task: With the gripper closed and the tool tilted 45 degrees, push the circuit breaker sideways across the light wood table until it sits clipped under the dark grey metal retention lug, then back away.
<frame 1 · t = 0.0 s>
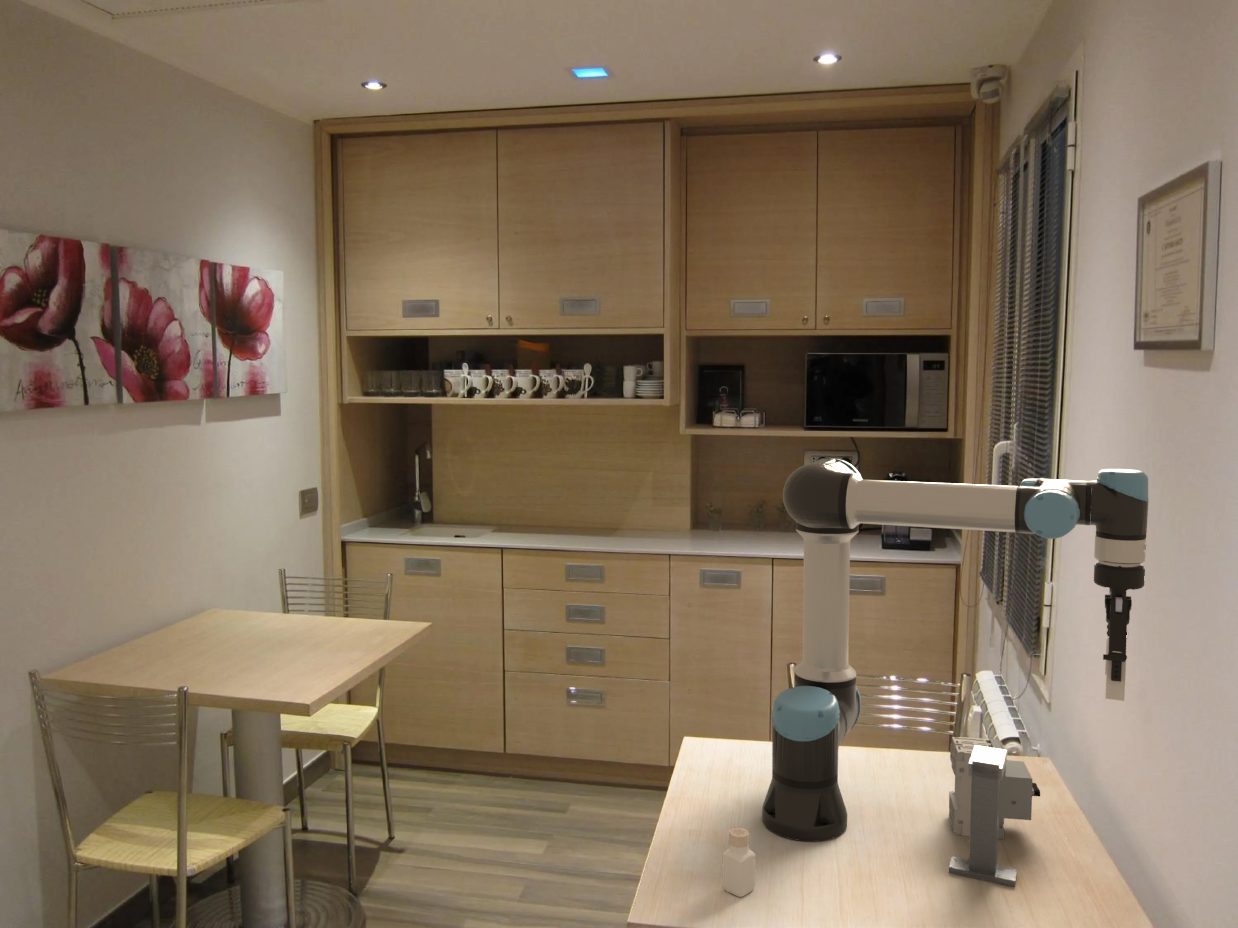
hand: (1114, 686, 164), 28 cm above the table, tool pointing down, fingers open, 13 cm apart
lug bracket: (983, 872, 158), on the table
pepper shaker: (738, 890, 154), on the table
circuit breaker: (993, 829, 174), on the table
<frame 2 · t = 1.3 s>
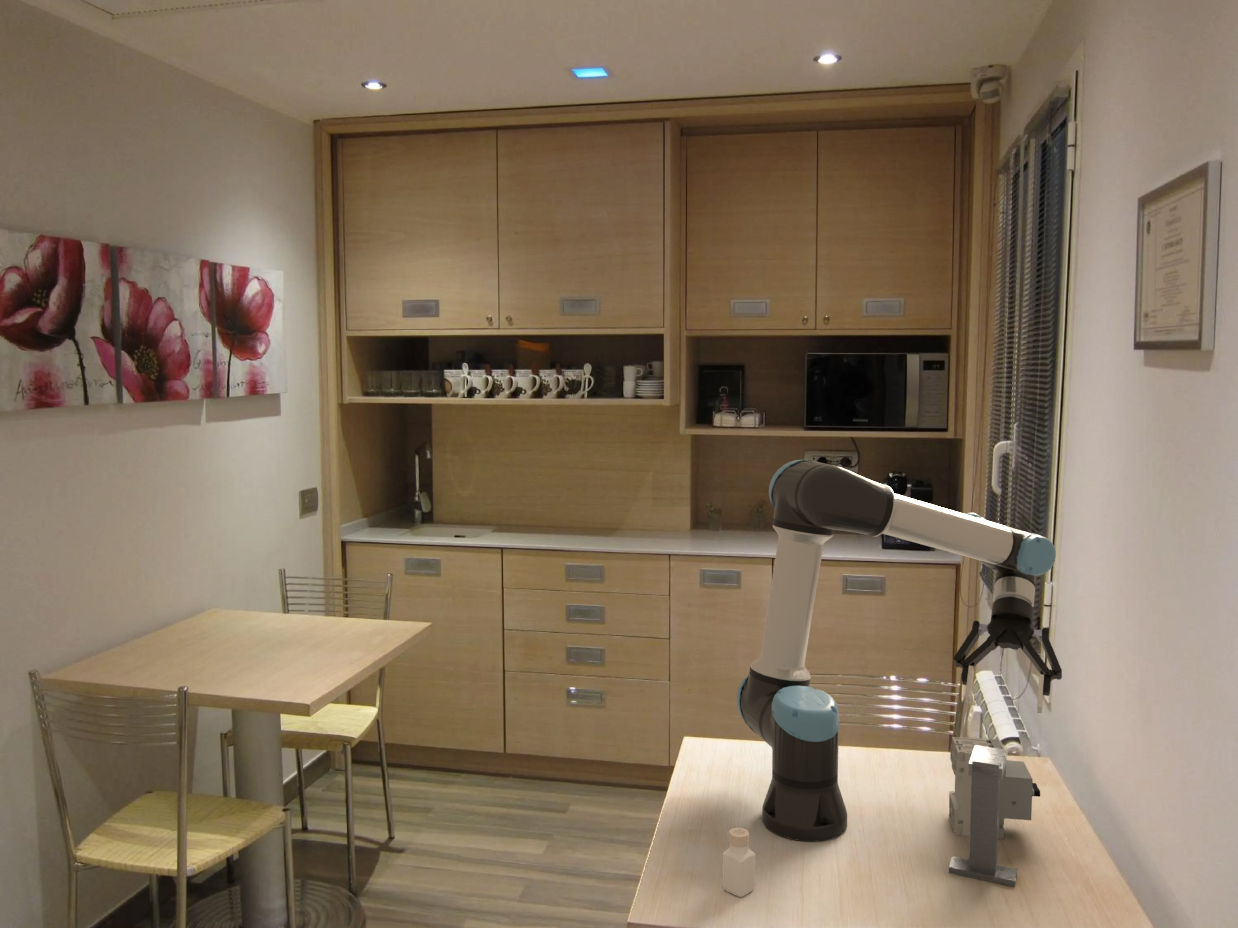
hand: (1003, 704, 181), 19 cm above the table, tool tilted 45°, fingers open, 12 cm apart
nothing on the table moved.
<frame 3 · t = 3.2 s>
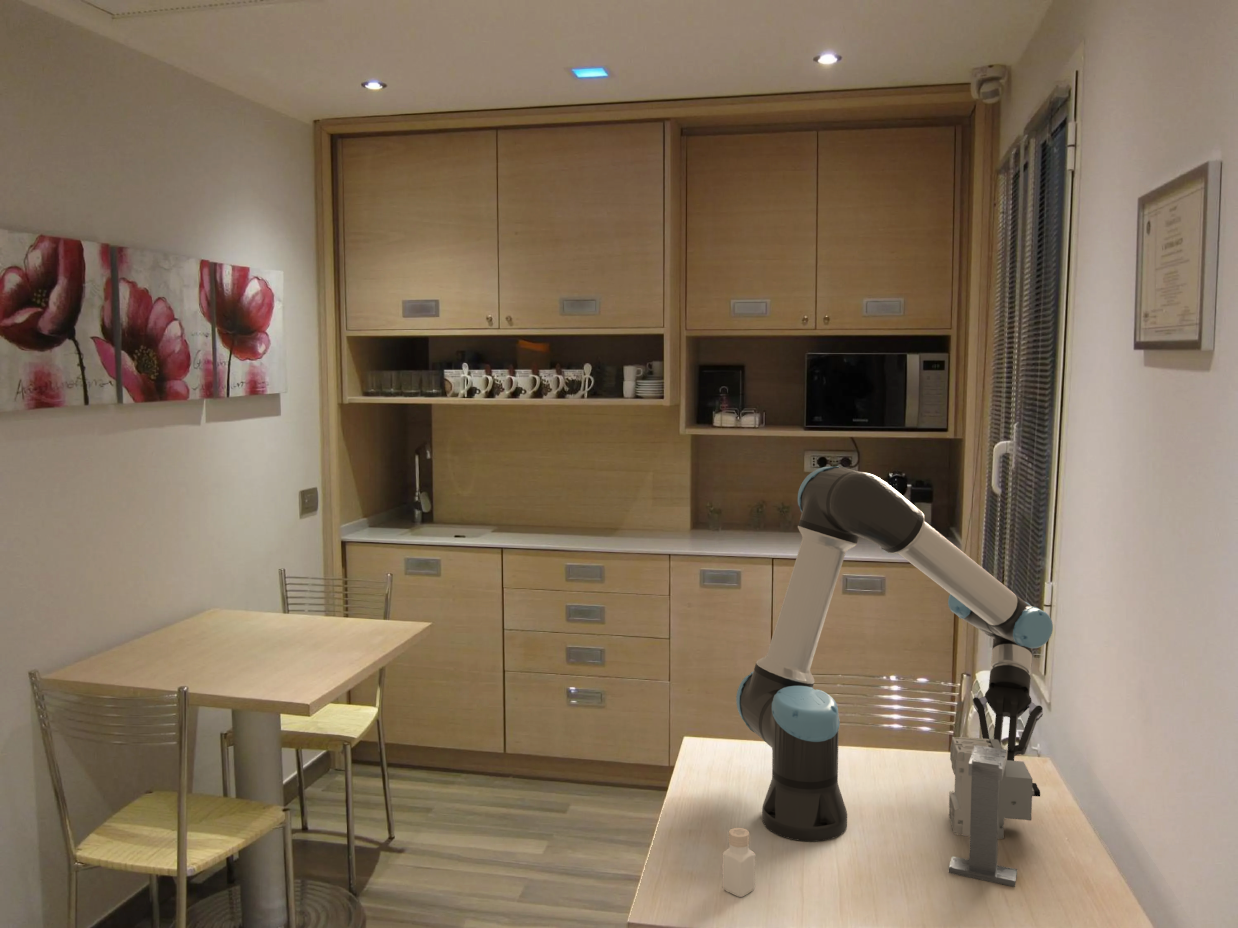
hand: (1000, 785, 181), 4 cm above the table, tool tilted 45°, fingers closed
nothing on the table moved.
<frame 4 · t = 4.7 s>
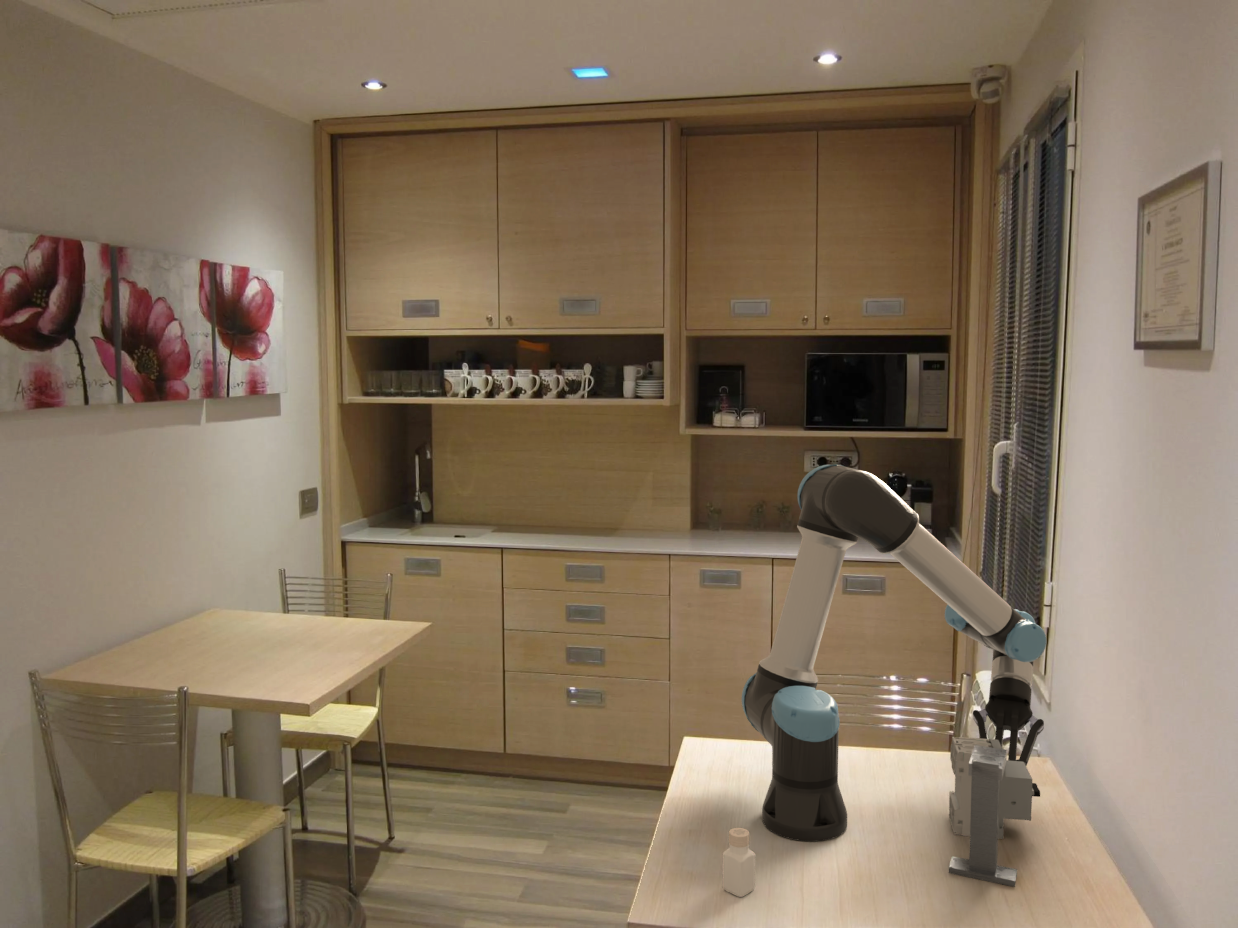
hand: (1001, 800, 178), 3 cm above the table, tool tilted 45°, fingers closed
circuit breaker: (993, 829, 174), on the table, touching gripper
everything else where it was.
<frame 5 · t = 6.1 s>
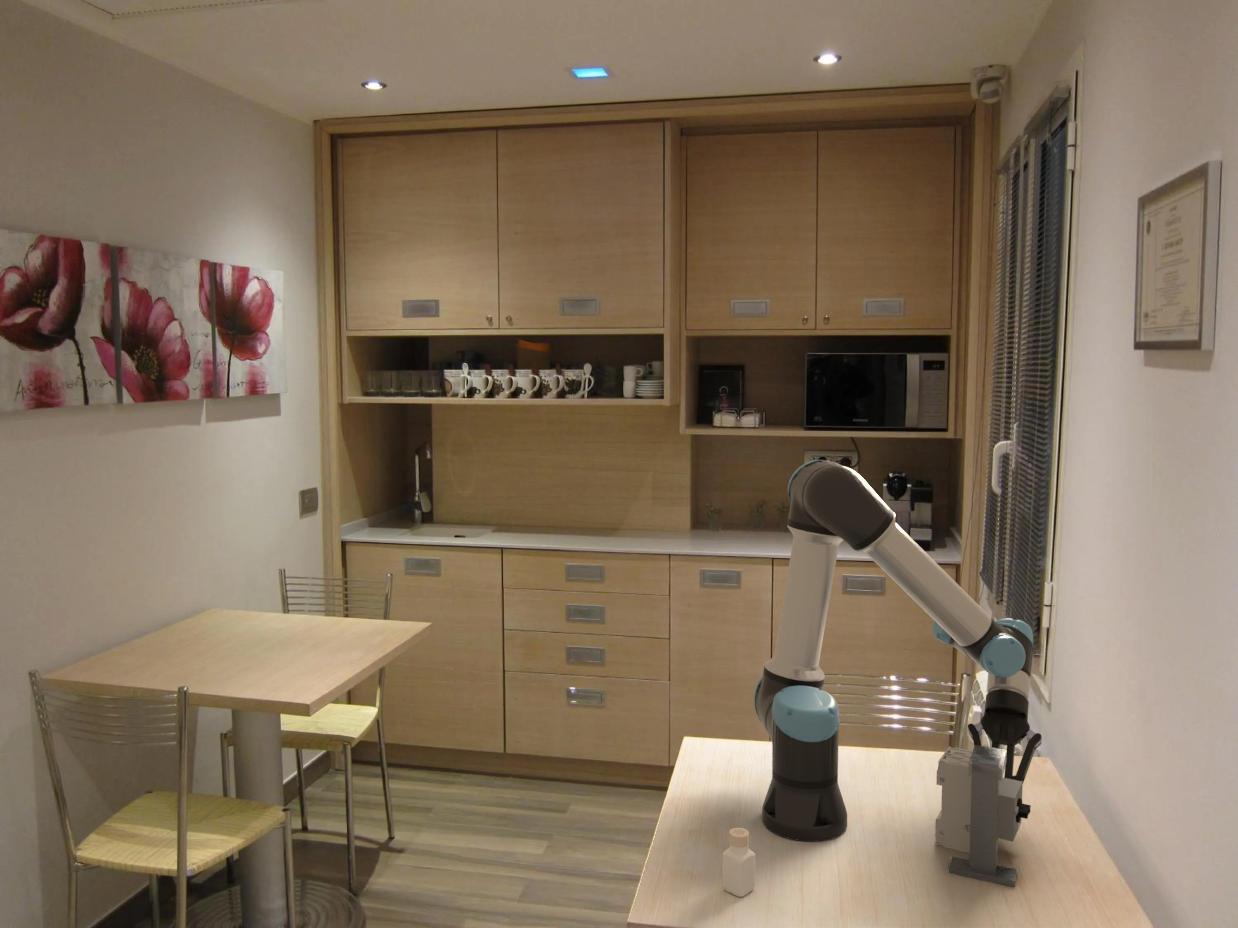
hand: (997, 819, 171), 3 cm above the table, tool tilted 45°, fingers closed
circuit breaker: (982, 846, 167), on the table, touching gripper
everything else where it was.
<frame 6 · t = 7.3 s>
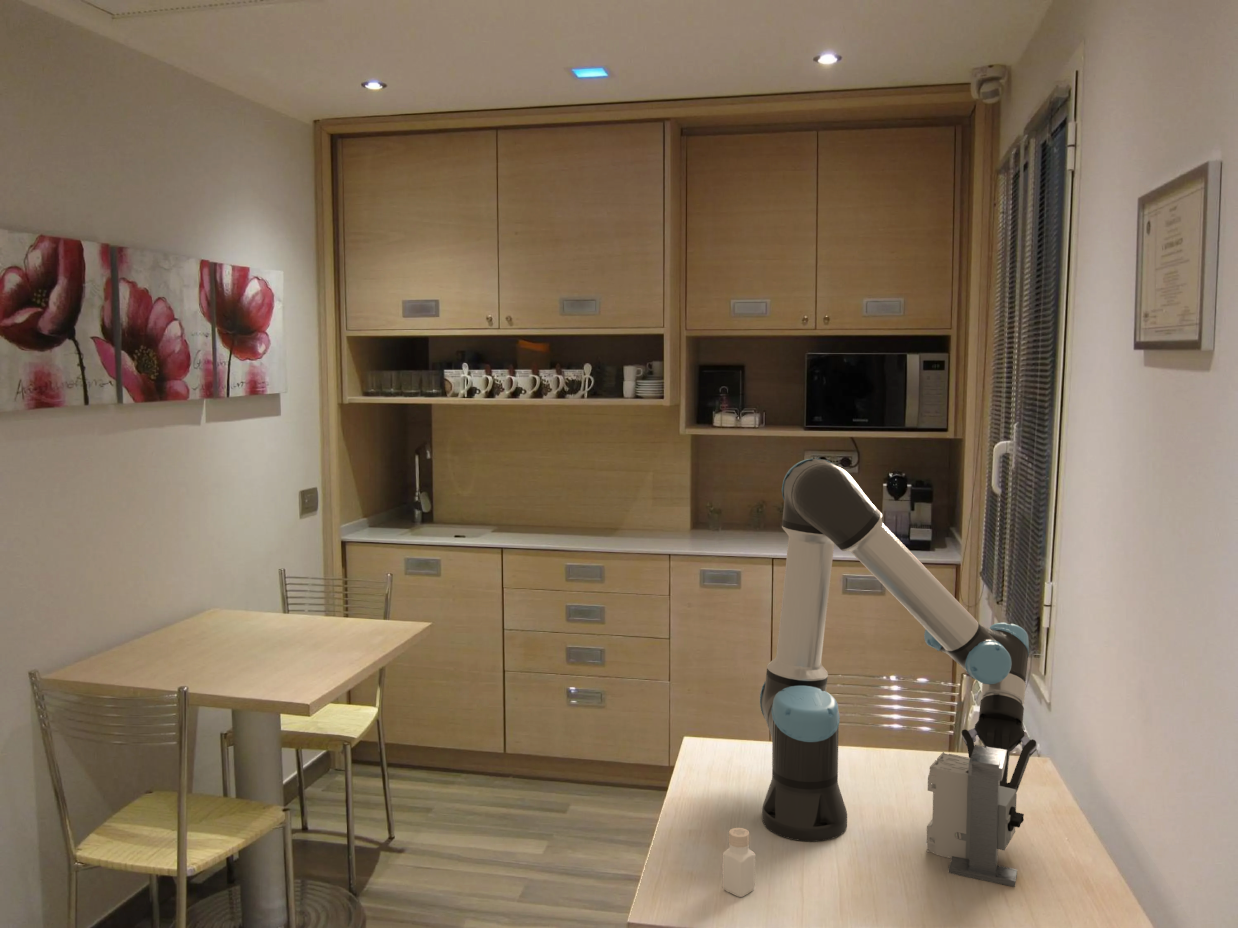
hand: (990, 826, 168), 3 cm above the table, tool tilted 45°, fingers closed
circuit breaker: (975, 855, 164), on the table, touching gripper, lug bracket
everything else where it was.
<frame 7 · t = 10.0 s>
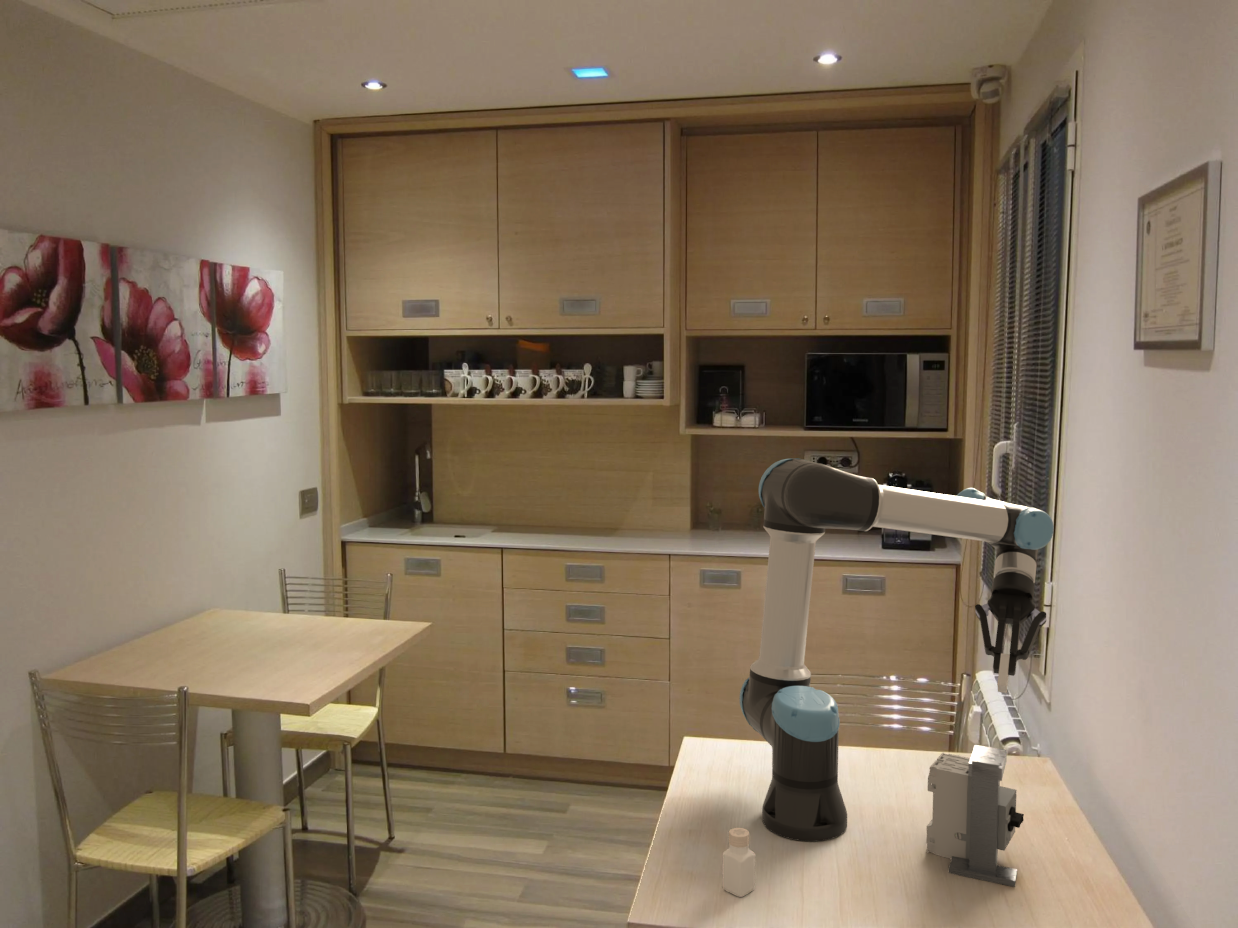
hand: (1002, 688, 177), 24 cm above the table, tool tilted 45°, fingers closed
circuit breaker: (975, 855, 164), on the table
everything else where it was.
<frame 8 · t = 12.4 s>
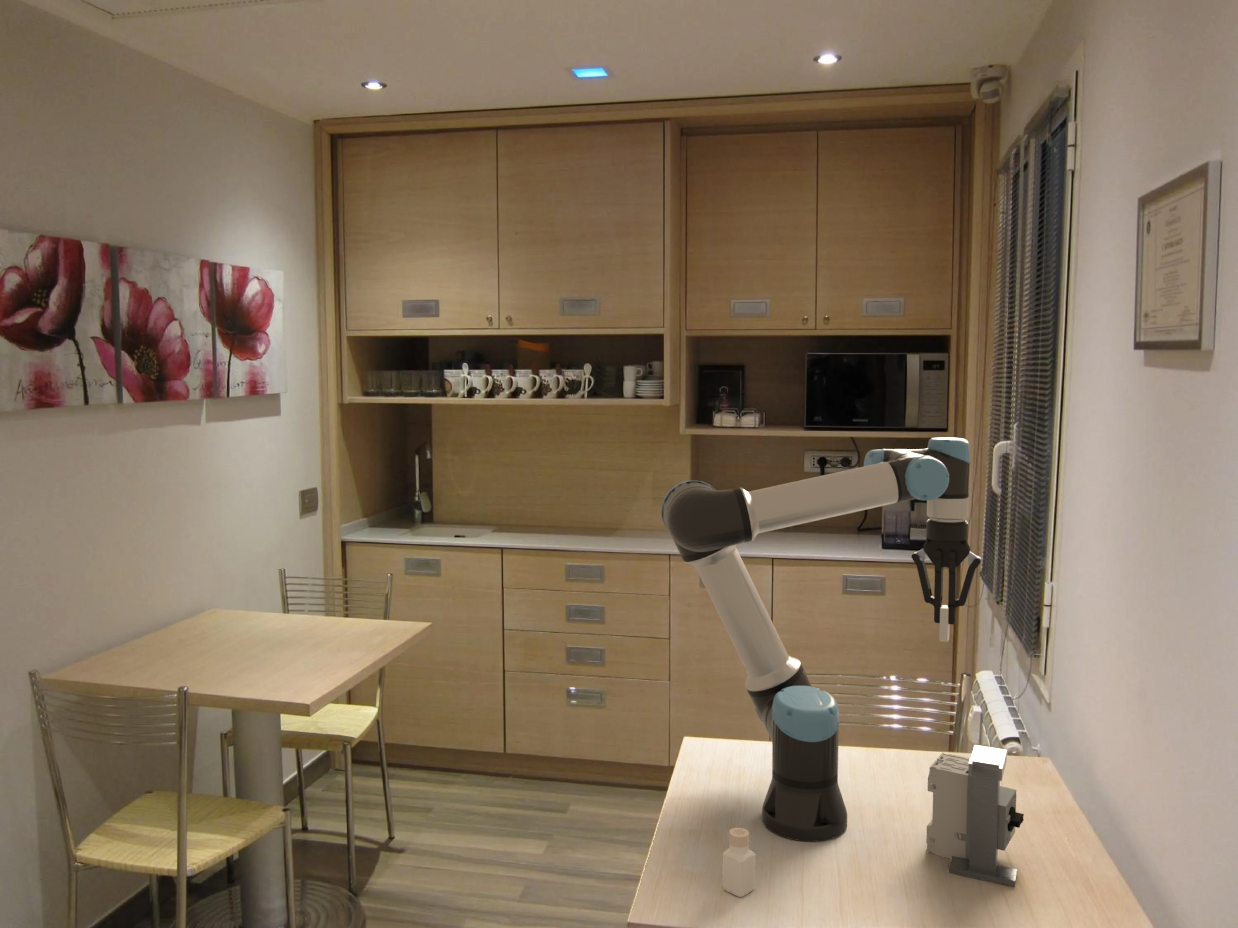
hand: (944, 639, 188), 29 cm above the table, tool pointing down, fingers closed
nothing on the table moved.
at the end: circuit breaker inside the target area (1.8 cm from its centre), on the table; circuit breaker tilted 0°; circuit breaker moved 11.3 cm from its start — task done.
